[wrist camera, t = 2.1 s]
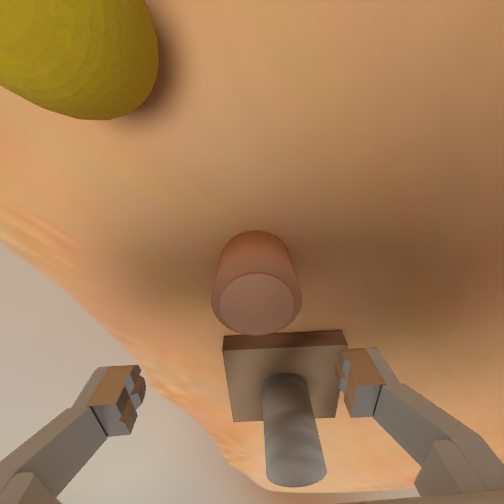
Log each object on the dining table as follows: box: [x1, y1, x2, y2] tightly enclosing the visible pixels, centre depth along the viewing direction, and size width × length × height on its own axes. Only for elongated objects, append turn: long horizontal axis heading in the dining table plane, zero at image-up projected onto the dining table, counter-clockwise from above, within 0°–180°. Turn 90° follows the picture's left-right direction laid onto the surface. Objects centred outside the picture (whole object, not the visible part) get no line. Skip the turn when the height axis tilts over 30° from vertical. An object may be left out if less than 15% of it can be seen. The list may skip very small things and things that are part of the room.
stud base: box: [222, 331, 348, 487], centre depth 19 cm, size 10×10×8 cm
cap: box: [211, 231, 302, 336], centre depth 15 cm, size 5×5×5 cm
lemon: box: [0, 0, 159, 120], centre depth 8 cm, size 6×6×8 cm
